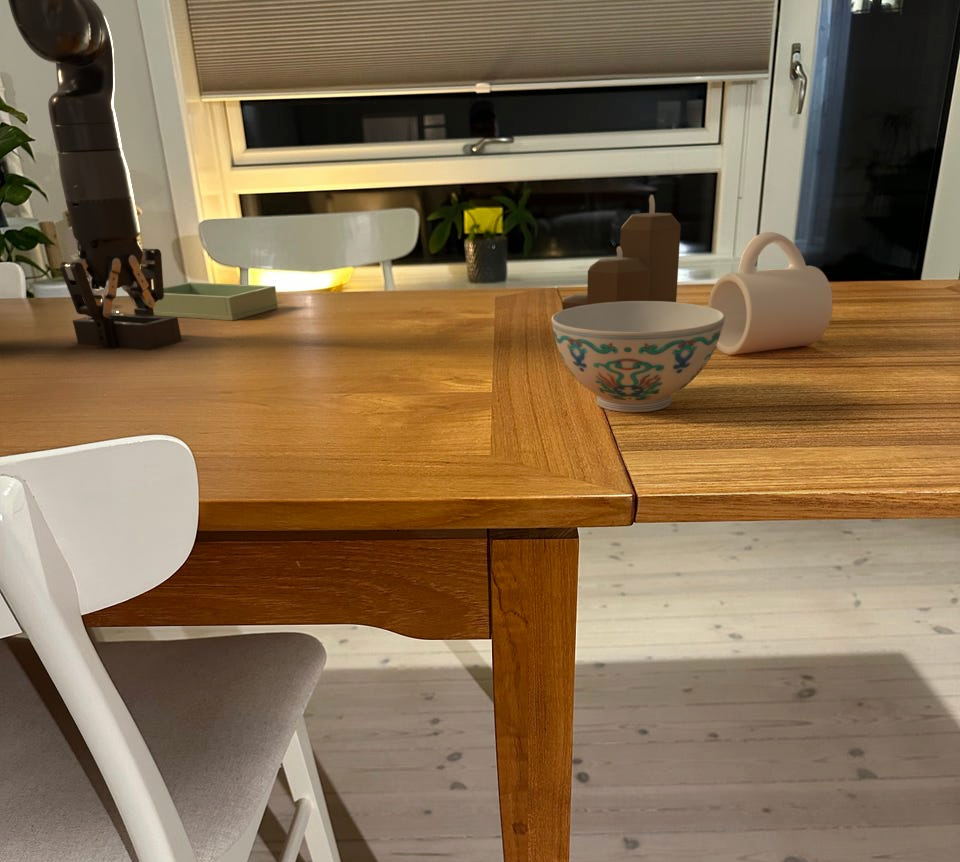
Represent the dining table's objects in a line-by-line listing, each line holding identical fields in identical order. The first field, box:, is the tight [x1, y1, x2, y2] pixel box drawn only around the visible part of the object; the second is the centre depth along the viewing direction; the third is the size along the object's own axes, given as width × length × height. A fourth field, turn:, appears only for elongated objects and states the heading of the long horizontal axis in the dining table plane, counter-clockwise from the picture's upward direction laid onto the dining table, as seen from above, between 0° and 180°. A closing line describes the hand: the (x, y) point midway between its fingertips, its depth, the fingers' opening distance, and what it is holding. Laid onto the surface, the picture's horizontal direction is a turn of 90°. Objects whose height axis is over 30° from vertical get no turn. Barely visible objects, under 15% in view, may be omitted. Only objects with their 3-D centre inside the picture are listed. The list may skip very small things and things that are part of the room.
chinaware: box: [551, 301, 725, 413], centre depth 86 cm, size 15×15×8 cm
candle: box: [561, 194, 682, 311], centre depth 113 cm, size 14×14×15 cm
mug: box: [707, 231, 834, 356], centre depth 102 cm, size 8×10×12 cm
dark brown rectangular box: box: [72, 312, 182, 351], centre depth 118 cm, size 12×6×4 cm, turn 63°
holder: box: [153, 281, 279, 322], centre depth 140 cm, size 17×10×3 cm, turn 63°
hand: (130, 343), depth 118 cm, fingers closed on dark brown rectangular box, 5 cm apart
